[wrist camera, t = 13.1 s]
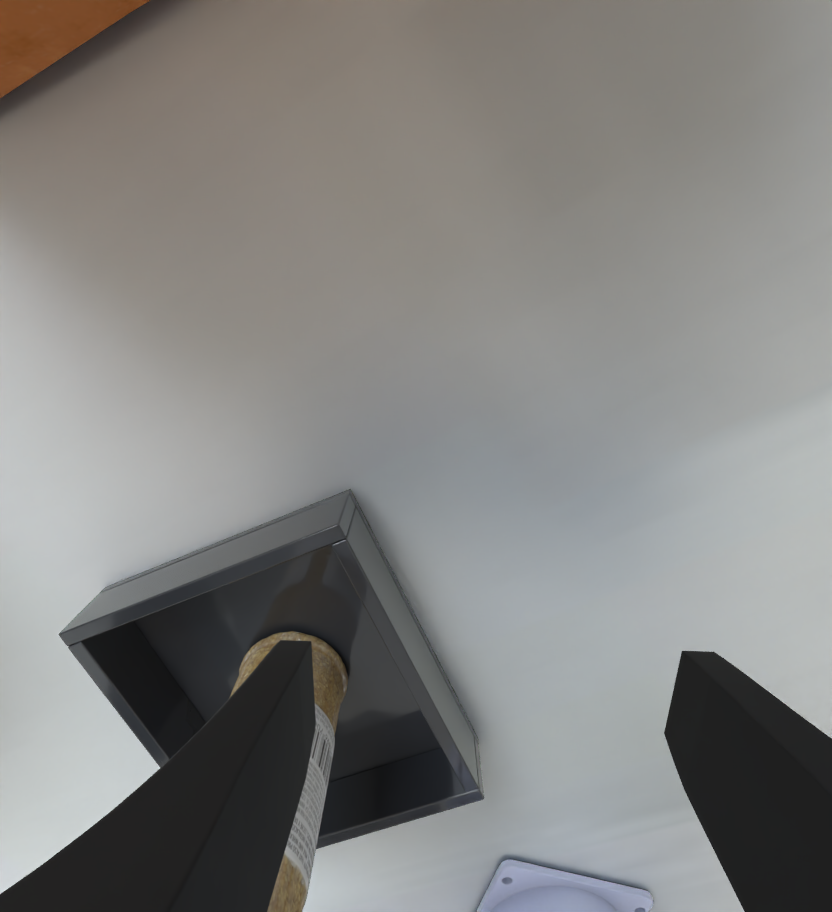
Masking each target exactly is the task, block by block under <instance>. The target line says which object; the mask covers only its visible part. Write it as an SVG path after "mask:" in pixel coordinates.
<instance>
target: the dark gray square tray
mask: <svg viewBox="0 0 832 912" xmlns="http://www.w3.org/2000/svg"><path fill="white" fill-rule="evenodd" d="M290 631H294V632H300V633H304V634H307V635H311V636H315V637H317V638H319V639H321V640H323V641H324V642H326V643H327V644H329V645H330V646H331V647H332V648H333V649H334V650H335V651H336V652H337V653H338V655H339V656H340V657H341V659H342V662H343V663H344V665H345V667H346V672H347V676H348V685H347V691H346V694H345V696H344V699H343V701H342V702H341V704H340V709H339V713H338V721H337V726H336V732H335V736H334V737H335V746H334V752H333V758H332V763H331V769H330V774H329V780H328V786H327V792H326V797H325V803H324V808H323V813H322V819H321V824H320V829H319V835H318V840H317V845H316V849H318V848H321V847H325V846H328V845H331V844H335V843H338V842H342V841H345V840H348V839H352V838H355V837H358V836H362V835H365V834H369V833H372V832H375V831H379V830H382V829H385V828H389V827H392V826H396V825H399V824H402V823H406V822H409V821H412V820H416V819H419V818H423V817H426V816H429V815H433V814H436V813H439V812H443V811H446V810H450V809H453V808H456V807H460V806H463V805H466V804H470V803H473V802H477V801H480V800H483V799H484V791H483V782H482V773H481V763H480V754H479V746H478V745H479V743H478V737H477V735H476V733H475V731H474V729H473V728H472V726H471V724H470V722H469V720H468V718H467V716H466V714H465V712H464V710H463V708H462V706H461V704H460V702H459V700H458V698H457V696H456V694H455V692H454V690H453V688H452V686H451V684H450V683H449V681H448V679H447V677H446V675H445V673H444V671H443V669H442V667H441V665H440V663H439V661H438V659H437V657H436V655H435V653H434V651H433V649H432V647H431V645H430V643H429V641H428V639H427V638H426V636H425V634H424V632H423V630H422V628H421V626H420V624H419V622H418V620H417V618H416V616H415V614H414V612H413V610H412V608H411V606H410V604H409V602H408V600H407V598H406V596H405V594H404V593H403V591H402V589H401V587H400V585H399V583H398V581H397V579H396V577H395V575H394V573H393V571H392V569H391V567H390V565H389V563H388V561H387V559H386V557H385V555H384V553H383V551H382V549H381V548H380V546H379V544H378V542H377V540H376V538H375V536H374V534H373V532H372V530H371V528H370V526H369V524H368V522H367V520H366V518H365V516H364V514H363V512H362V510H361V508H360V506H359V504H358V503H357V501H356V499H355V497H354V495H353V493H352V491H351V489H349V490H346V491H344V492H342V493H339V494H337V495H334V496H332V497H329V498H327V499H324V500H322V501H319V502H317V503H314V504H312V505H309V506H307V507H304V508H302V509H299V510H297V511H294V512H292V513H289V514H287V515H284V516H282V517H279V518H277V519H274V520H272V521H269V522H267V523H264V524H262V525H259V526H257V527H255V528H252V529H250V530H247V531H245V532H242V533H240V534H237V535H235V536H232V537H230V538H227V539H225V540H222V541H220V542H217V543H215V544H212V545H210V546H207V547H205V548H202V549H200V550H197V551H195V552H192V553H190V554H187V555H185V556H182V557H180V558H177V559H175V560H173V561H170V562H168V563H165V564H163V565H160V566H158V567H155V568H153V569H150V570H148V571H145V572H143V573H140V574H138V575H135V576H133V577H130V578H128V579H125V580H123V581H120V582H118V583H115V584H113V585H110V586H108V587H105V588H104V589H103V590H102V591H101V592H100V593H99V594H98V595H97V596H96V597H95V598H94V599H93V600H92V601H91V602H90V603H89V604H88V605H87V606H86V607H85V608H84V609H83V610H82V611H81V612H80V613H79V614H78V615H77V616H76V617H75V618H74V619H73V620H72V621H71V622H70V623H69V624H68V625H67V626H66V627H65V628H64V629H63V630H62V631H61V632H60V633H59V636H60V637H61V639H62V640H63V641H64V643H65V644H66V645H67V646H69V647H68V648H69V650H70V651H71V652H72V653H73V655H74V656H75V657H76V659H77V660H78V661H79V663H80V664H81V665H82V666H83V668H84V669H85V670H86V672H87V673H88V674H89V676H90V677H91V678H92V679H93V681H94V682H95V683H96V685H97V686H98V687H99V689H100V690H101V691H102V692H103V694H104V695H105V696H106V698H107V699H108V700H109V702H110V703H111V704H112V705H113V707H114V708H115V709H116V711H117V712H118V713H119V715H120V716H121V717H122V718H123V720H124V721H125V722H126V724H127V725H128V726H129V728H130V729H131V730H132V731H133V733H134V734H135V735H136V737H137V738H138V739H139V741H140V742H141V743H142V744H143V746H144V747H145V748H146V750H147V751H148V752H149V754H150V755H151V756H152V757H153V759H154V760H155V761H156V763H157V764H158V765H159V767H160V768H161V767H162V766H163V765H164V764H165V763H166V762H167V761H168V760H170V759H171V758H172V757H173V756H174V755H175V754H176V753H177V752H178V751H179V750H180V749H181V748H182V747H183V746H184V745H185V744H186V743H187V742H188V741H189V740H190V739H191V738H192V737H193V736H194V735H195V734H196V733H197V732H198V731H199V730H200V729H201V728H202V727H203V726H204V725H205V724H206V723H207V722H208V721H209V720H210V718H211V717H212V716H213V715H214V714H215V713H216V712H217V711H218V710H219V709H220V708H221V707H222V705H223V704H224V703H225V702H226V701H227V700H228V699H229V697H230V696H231V693H232V690H233V688H234V686H235V683H236V681H237V679H238V677H239V669H240V666H241V663H242V661H243V659H244V657H245V655H246V654H247V652H248V651H249V650H250V649H251V647H252V646H254V645H255V644H256V643H257V642H259V641H260V640H262V639H265V638H267V637H269V636H271V635H273V634H276V633H280V632H290Z"/></svg>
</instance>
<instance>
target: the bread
mask: <svg viewBox="0 0 832 912" xmlns="http://www.w3.org/2000/svg"><path fill="white" fill-rule="evenodd" d="M148 1H150V0H0V98H1V97H3V96H4V95H6V94H8V93H9V92H11V91H12V90H14V89H15V88H17V87H18V86H20V85H21V84H23V83H24V82H26V81H27V80H29V79H30V78H32V77H33V76H35V75H36V74H38V73H39V72H41V71H42V70H44V69H45V68H47V67H48V66H50V65H52V64H53V63H55V62H56V61H58V60H59V59H61V58H62V57H64V56H65V55H67V54H68V53H70V52H71V51H73V50H74V49H76V48H77V47H79V46H80V45H82V44H83V43H85V42H86V41H88V40H89V39H91V38H93V37H94V36H96V35H97V34H99V33H100V32H102V31H103V30H105V29H106V28H108V27H109V26H111V25H112V24H114V23H115V22H117V21H118V20H120V19H121V18H123V17H124V16H126V15H127V14H129V13H130V12H132V11H134V10H135V9H137V8H139V7H140V6H142V5H144V4H145V3H147V2H148Z"/></svg>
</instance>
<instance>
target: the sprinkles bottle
mask: <svg viewBox="0 0 832 912" xmlns="http://www.w3.org/2000/svg"><path fill="white" fill-rule="evenodd" d="M280 640H292V641H311V644H312V662H313V680H314V698H315V716H316V726H315V731H314V737H313V743H312V749H311V754H310V760H309V765H308V770H307V776H306V780H305V783H304V787H303V790H302V794H301V797H300V801H299V804H298V808H297V811H296V815H295V818H294V822H293V825H292V828H291V832H290V835H289V839H288V842H287V846H286V849H285V852H284V856H283V859H282V863H281V866H280V869H279V873H278V876H277V880H276V883H275V886H274V890H273V893H272V897H271V900H270V904H269V907H268V910H267V912H302V909H303V907H304V905H305V902H306V898H307V894H308V888H309V883H310V878H311V872H312V867H313V862H314V856H315V851H316V845H317V840H318V835H319V829H320V824H321V819H322V813H323V808H324V803H325V797H326V792H327V786H328V780H329V774H330V769H331V763H332V758H333V752H334V746H335V737H334V736H335V732H336V726H337V721H338V713H339V709H340V704H341V702H342V701H343V699H344V696H345V694H346V691H347V685H348V676H347V672H346V667H345V665H344V663H343V662H342V659H341V657H340V656H339V655H338V653H337V652H336V651H335V650H334V649H333V648H332V647H331V646H330V645H329V644H327V643H326V642H324V641H323V640H321V639H319V638H317V637H315V636H311V635H307V634H304V633H300V632H294V631H290V632H280V633H276V634H273V635H271V636H269V637H267V638H265V639H262V640H260V641H259V642H257V643H256V644H255V645H254V646H252V647H251V649H250V650H249V651H248V652H247V654H246V655H245V657H244V659H243V661H242V663H241V666H240V669H239V677H238V679H237V681H236V683H235V686H234V688H233V690H232V693H231V696H232V695H233V693H234V692H235V691H236V690H237V689H238V688H239V687H240V686H241V684H242V683H243V682H244V681H245V680H246V679H247V678H248V676H249V675H250V674H251V673H252V672H253V671H254V669H255V668H256V667H257V666H258V665H259V664H260V662H261V661H262V660H263V659H264V658H265V656H266V655H267V654H268V653H269V652H270V650H271V649H272V648H273V647H274V646H275V645H276V644H277V643H278V642H279V641H280ZM231 696H230V697H231ZM230 697H229V698H230Z"/></svg>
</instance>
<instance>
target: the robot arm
mask: <svg viewBox="0 0 832 912" xmlns="http://www.w3.org/2000/svg"><path fill="white" fill-rule="evenodd" d="M315 726H316V716H315V698H314V680H313V662H312V644H311V641H292V640H280V641H279V642H278V643H277V644H276V645H275V646H274V647H273V648H272V649H271V650H270V652H269V653H268V654H267V655H266V656H265V658H264V659H263V660H262V661H261V662H260V664H259V665H258V666H257V667H256V668H255V669H254V671H253V672H252V673H251V674H250V675H249V676H248V678H247V679H246V680H245V681H244V682H243V683H242V684H241V686H240V687H239V688H238V689H237V690H236V691H235V692H234V693H233V695H232V696H231V697H230V698H229V699H228V700H227V701H226V702H225V703H224V704H223V705H222V707H221V708H220V709H219V710H218V711H217V712H216V713H215V714H214V715H213V716H212V717H211V718H210V720H209V721H208V722H207V723H206V724H205V725H204V726H203V727H202V728H201V729H200V730H199V731H198V732H197V733H196V734H195V735H194V736H193V737H192V738H191V739H190V740H189V741H188V742H187V743H186V744H185V745H184V746H183V747H182V748H181V749H180V750H179V751H178V752H177V753H176V754H175V755H174V756H173V757H172V758H171V759H170V760H168V761H167V762H166V763H165V764H164V765H163V766H162V767H161V768H160V769H159V770H158V771H157V772H156V773H155V774H153V775H152V776H151V777H150V778H149V779H148V780H147V781H146V782H145V783H143V784H142V785H141V786H140V787H139V788H138V789H137V790H136V791H134V792H133V793H132V794H131V795H130V796H129V797H127V798H126V799H125V800H124V801H123V802H122V803H120V804H119V805H118V806H117V807H116V808H115V809H113V810H112V811H111V812H110V813H108V814H107V815H106V816H105V817H103V818H102V819H101V820H100V821H98V822H97V823H96V824H95V825H93V826H92V827H91V828H90V829H88V830H87V831H86V832H85V833H83V834H82V835H81V836H79V837H78V838H77V839H75V840H74V841H73V842H71V843H70V844H69V845H68V846H66V847H65V848H64V849H62V850H61V851H60V852H58V853H57V854H56V855H54V856H53V857H52V858H51V859H49V860H48V861H47V862H45V863H44V864H43V865H41V866H40V867H38V868H37V869H36V870H34V871H33V872H31V873H30V874H29V875H27V876H26V877H24V878H23V879H21V880H20V881H19V882H17V883H16V884H14V885H13V886H11V887H10V888H9V889H7V890H6V891H4V892H3V893H1V894H0V912H267V910H268V907H269V904H270V900H271V897H272V893H273V890H274V886H275V883H276V880H277V876H278V873H279V869H280V866H281V863H282V859H283V856H284V852H285V849H286V846H287V842H288V839H289V835H290V832H291V828H292V825H293V822H294V818H295V815H296V811H297V808H298V804H299V801H300V797H301V794H302V790H303V787H304V783H305V780H306V776H307V770H308V765H309V760H310V754H311V749H312V743H313V737H314V731H315ZM664 734H665V737H666V740H667V743H668V746H669V749H670V752H671V755H672V757H673V760H674V763H675V766H676V769H677V771H678V774H679V777H680V779H681V782H682V785H683V787H684V790H685V792H686V794H687V796H688V798H689V800H690V802H691V804H692V806H693V809H694V811H695V813H696V815H697V817H698V819H699V821H700V823H701V825H702V827H703V829H704V831H705V833H706V835H707V837H708V839H709V841H710V843H711V845H712V847H713V849H714V851H715V853H716V855H717V857H718V859H719V861H720V863H721V865H722V867H723V869H724V871H725V873H726V875H727V877H728V879H729V881H730V883H731V885H732V887H733V889H734V891H735V893H736V895H737V897H738V899H739V901H740V903H741V905H742V907H743V909H744V911H745V912H832V739H831V738H830V737H829V736H827V735H826V734H824V733H823V732H822V731H820V730H819V729H818V728H816V727H815V726H814V725H812V724H811V723H809V722H808V721H807V720H805V719H804V718H803V717H801V716H800V715H799V714H797V713H796V712H795V711H793V710H792V709H791V708H789V707H788V706H787V705H785V704H784V703H783V702H781V701H780V700H779V699H777V698H776V697H775V696H773V695H772V694H771V693H769V692H768V691H767V690H766V689H764V688H763V687H762V686H760V685H759V684H758V683H756V682H755V681H754V680H752V679H751V678H750V677H748V676H747V675H746V674H744V673H743V672H742V671H740V670H739V669H738V668H736V667H735V666H733V665H732V664H731V663H729V662H728V661H726V660H725V659H724V658H722V657H721V656H719V655H718V654H716V653H715V652H699V651H682V654H681V658H680V663H679V668H678V672H677V677H676V681H675V686H674V691H673V695H672V700H671V705H670V709H669V714H668V718H667V723H666V728H665V732H664ZM653 904H654V902H653V898H652V896H651V893H650V892H648V891H646V890H643V889H638V888H634V887H630V886H625V885H621V884H616V883H612V882H608V881H603V880H599V879H595V878H590V877H586V876H582V875H577V874H573V873H569V872H564V871H560V870H556V869H551V868H547V867H543V866H538V865H534V864H530V863H525V862H521V861H517V860H512V859H508V860H504V861H503V862H502V863H501V864H500V865H499V867H498V869H497V871H496V873H495V875H494V877H493V879H492V881H491V883H490V885H489V887H488V889H487V891H486V893H485V895H484V897H483V899H482V901H481V903H480V905H479V907H478V909H477V911H476V912H649V911H650V909H651V908H652V906H653Z"/></svg>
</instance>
